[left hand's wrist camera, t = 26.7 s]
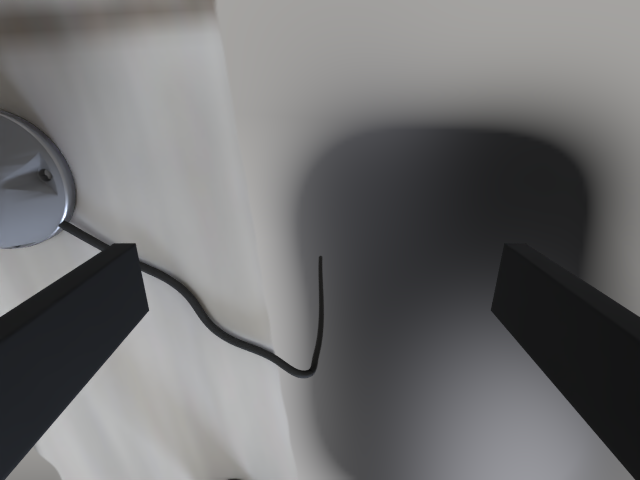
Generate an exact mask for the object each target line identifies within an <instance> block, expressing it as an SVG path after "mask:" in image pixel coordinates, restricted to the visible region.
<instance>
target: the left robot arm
mask: <svg viewBox="0 0 640 480" xmlns="http://www.w3.org/2000/svg"><path fill="white" fill-rule="evenodd" d="M75 201H76V192H75V184H74V180H73V176H72V173H71V170H70V168H69V166H68V164H67V162H66V160H65V158H64V157H63V155H62V154H61V152H60V151H59V149H58V148H57V147H56V145H55V144H54V143H53V142H52V141H51V140H50V139H49V138H48V137H47V136H46V135H45V134H44V133H43V132H42V131H41V130H39V129H38V128H37V127H35V126H34V125H33V124H31V123H30V122H28V121H26V120H24V119H23V118H21V117H18V116H16V115H14V114H11V113H9V112H5V111H2V110H0V248H3V249H13V248H23V247H29V246H33V245H36V244H38V243H41V242H43V241H45V240H47V239H49V238H51V237H53V236H55V235H56V234H58V233H59V232H60V231H62V230H65V231H67V232H69V233H70V234H72V235H74V236H76V237H78V238H79V239H81V240H83V241H85V242H87V243H88V244H90V245H92V246H94V247H96V248H97V249H99V250H101V251H102V252H100V253H99V254H97V255H95V256H94V257H92V258H91V259H89V260H88V261H86V262H85V263H83V264H82V265H80V266H78V267H77V268H75V269H74V270H72V271H71V272H69V273H68V274H66V275H65V276H63V277H61V278H60V279H58V280H57V281H55V282H54V283H52V284H51V285H49V286H48V287H46V288H45V289H43V290H41V291H40V292H38V293H37V294H35V295H34V296H32V297H31V298H29V299H28V300H26V301H24V302H23V303H21V304H20V305H18V306H17V307H15V308H14V309H12V310H11V311H9V312H7V313H6V314H4V315H3V316H1V317H0V480H5V479H6V478H7V476H8V475H9V474H10V473H11V472H12V470H13V469H14V468H15V467H16V466H17V465H18V463H19V462H20V461H21V460H22V459H23V458H24V456H25V455H26V454H27V453H28V452H29V451H30V449H31V448H32V447H33V446H34V445H35V444H36V442H37V441H38V440H39V439H40V438H41V437H42V435H43V434H44V433H45V432H46V431H47V430H48V428H49V427H50V426H51V425H52V424H53V422H54V421H55V420H56V419H57V418H58V417H59V415H60V414H61V413H62V412H63V411H64V410H65V408H66V407H67V406H68V405H69V404H70V403H71V401H72V400H73V399H74V398H75V397H76V396H77V394H78V393H79V392H80V391H81V390H82V388H83V387H84V386H85V385H86V384H87V383H88V381H89V380H90V379H91V378H92V377H93V376H94V374H95V373H96V372H97V371H98V370H99V369H100V367H101V366H102V365H103V364H104V363H105V362H106V360H107V359H108V358H109V357H110V356H111V354H112V353H113V352H114V351H115V350H116V349H117V347H118V346H119V345H120V344H121V343H122V342H123V340H124V339H125V338H126V337H127V336H128V335H129V333H130V332H131V331H132V330H133V329H134V328H135V326H136V325H137V324H138V323H139V322H140V320H141V319H142V318H143V317H144V316H145V315H146V313H147V312H148V311H149V307H148V302H147V298H146V293H145V288H144V283H143V278H142V273H141V271H143V272H145V273H147V274H150V275H152V276H154V277H156V278H158V279H160V280H162V281H164V282H166V283H167V284H169V285H170V286H172V287H173V288H174V289H176V290H177V291H178V292H179V293H181V294H182V295H183V296H184V297H185V299H186V300H187V301H188V302H189V303H190V305H191V306H192V308H193V309H194V311H195V312H196V314H197V315H198V317H199V318H200V319H201V321H202V322H203V323H204V324H205V326H206V327H207V328H208V329H209V330H210V331H211V332H213V333H214V334H215V335H217V336H218V337H219V338H221V339H223V340H224V341H226V342H228V343H230V344H232V345H234V346H236V347H239V348H241V349H244V350H247V351H250V352H252V353H255V354H257V355H260V356H262V357H264V358H266V359H268V360H270V361H272V362H273V363H275V364H276V365H278V366H279V367H281V368H282V369H283V370H285V371H286V372H288V373H290V374H291V375H293V376H295V377H298V378H308V377H311V376H312V375H314V374H315V372H316V369H317V366H318V359H319V354H320V350H321V345H322V338H323V328H324V294H323V271H322V256H319V265H318V276H319V321H318V332H317V339H316V345H315V349H314V353H313V357H312V362H311V367H310V369H309V370H306V371H302V370H298V369H296V368H294V367H292V366H291V365H289V364H288V363H286V362H285V361H283V360H282V359H281V358H279V357H278V356H276V355H275V354H273V353H271V352H269V351H267V350H265V349H262V348H260V347H258V346H255V345H252V344H250V343H247V342H244V341H242V340H239V339H237V338H235V337H233V336H231V335H229V334H227V333H226V332H224V331H223V330H221V329H220V328H219V327H217V326H216V325H215V324H214V323H213V322H212V321H211V320H210V318H209V317H208V316H207V314H206V313H205V311H204V310H203V308H202V307H201V305H200V304H199V302H198V301H197V299H196V298H195V297H194V296H193V294H192V293H191V292H190V291H189V290H188V289H187V288H186V287H185V286H184V285H182V284H181V283H180V282H178V281H177V280H176V279H174V278H173V277H171V276H169V275H168V274H166V273H164V272H162V271H160V270H158V269H156V268H154V267H151V266H149V265H147V264H144V263H142V262H140V261H139V258H138V253H137V248H136V243H114V244H112V245H111V246H109V245H107V244H105V243H104V242H102V241H100V240H98V239H97V238H95V237H93V236H91V235H90V234H88V233H86V232H84V231H82V230H81V229H79V228H77V227H75V226H74V225H72V224H70V223H68V222H69V220H70V219H71V217H72V214H73V211H74V208H75ZM491 311H492V312H493V313H494V315H495V316H496V317H497V318H498V319H499V320H500V322H501V323H502V324H503V325H504V326H505V328H506V329H507V330H508V331H509V332H510V333H511V334H512V336H513V337H514V338H515V339H516V340H517V342H518V343H519V344H520V345H521V346H522V347H523V349H524V350H525V351H526V352H527V353H528V354H529V356H530V357H531V358H532V359H533V360H534V362H535V363H536V364H537V365H538V366H539V367H540V368H541V370H542V371H543V372H544V373H545V374H546V376H547V377H548V378H549V379H550V380H551V381H552V383H553V384H554V385H555V386H556V387H557V388H558V390H559V391H560V392H561V393H562V394H563V395H564V397H565V398H566V399H567V400H568V401H569V402H570V404H571V405H572V406H573V407H574V408H575V410H576V411H577V412H578V413H579V414H580V415H581V417H582V418H583V419H584V420H585V421H586V422H587V424H588V425H589V426H590V427H591V428H592V430H593V431H594V432H595V433H596V434H597V435H598V437H599V438H600V439H601V440H602V441H603V442H604V444H605V445H606V446H607V447H608V448H609V449H610V451H611V452H612V453H613V454H614V455H615V456H616V458H617V459H618V460H619V461H620V462H621V464H622V465H623V466H624V467H625V468H626V469H627V471H628V472H629V473H630V474H631V475H632V476H633V478H634V479H635V480H640V317H639V316H637V315H636V314H634V313H633V312H631V311H629V310H628V309H626V308H625V307H623V306H622V305H620V304H619V303H617V302H616V301H614V300H612V299H611V298H609V297H608V296H606V295H605V294H603V293H602V292H600V291H599V290H597V289H595V288H594V287H592V286H591V285H589V284H588V283H586V282H585V281H583V280H582V279H580V278H578V277H577V276H575V275H574V274H572V273H571V272H569V271H568V270H566V269H565V268H563V267H561V266H560V265H558V264H557V263H555V262H554V261H552V260H551V259H549V258H548V257H546V256H545V255H543V254H541V253H540V252H538V251H537V250H535V249H534V248H532V247H531V246H529V245H528V244H526V243H525V244H524V243H506V244H504V248H503V253H502V258H501V263H500V268H499V273H498V278H497V283H496V288H495V293H494V298H493V302H492V308H491Z"/></svg>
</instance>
